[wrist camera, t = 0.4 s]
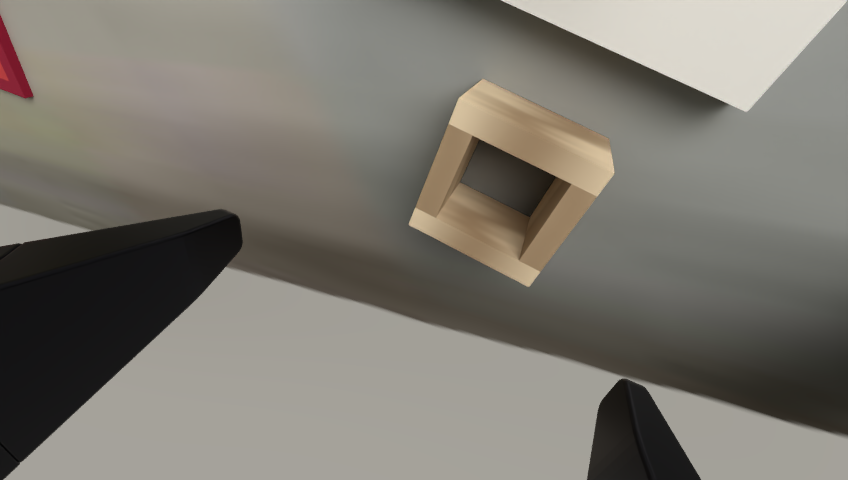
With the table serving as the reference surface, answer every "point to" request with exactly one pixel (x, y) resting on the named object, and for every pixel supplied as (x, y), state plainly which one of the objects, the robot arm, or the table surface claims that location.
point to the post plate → (698, 37)
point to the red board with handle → (11, 67)
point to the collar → (493, 221)
